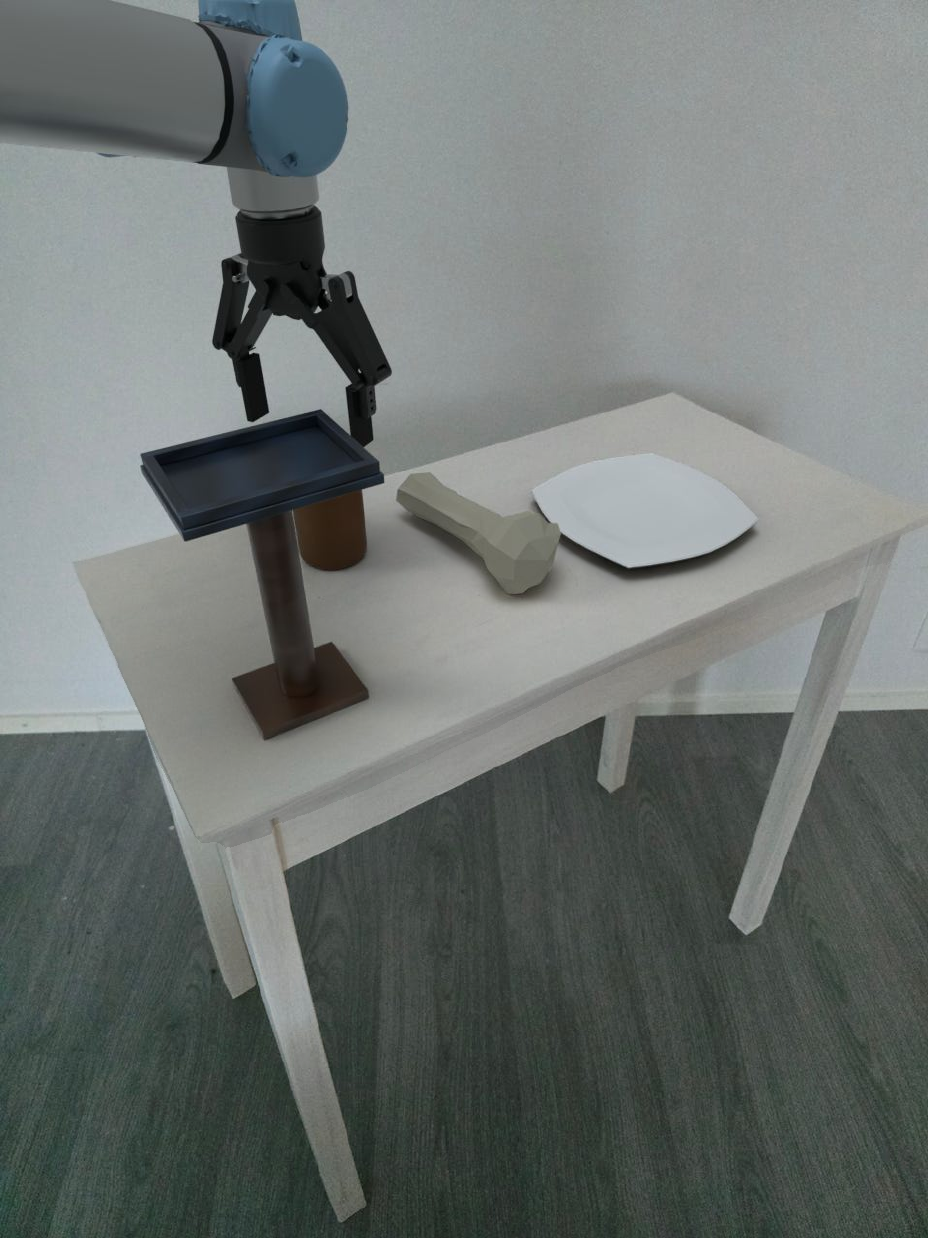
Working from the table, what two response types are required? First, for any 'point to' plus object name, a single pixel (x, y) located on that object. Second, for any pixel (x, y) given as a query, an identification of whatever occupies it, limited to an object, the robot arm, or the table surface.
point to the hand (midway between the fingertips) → (309, 430)
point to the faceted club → (486, 531)
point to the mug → (332, 531)
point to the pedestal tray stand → (271, 544)
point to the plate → (643, 510)
